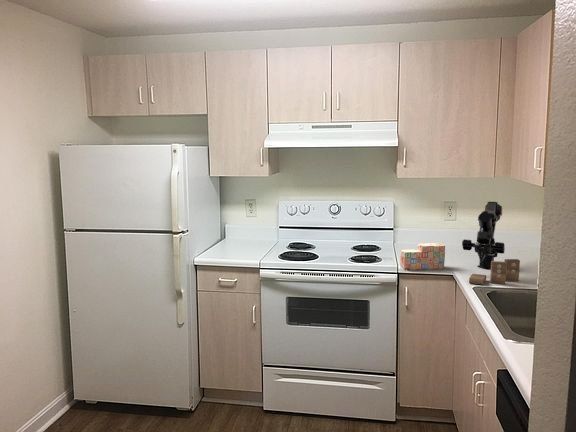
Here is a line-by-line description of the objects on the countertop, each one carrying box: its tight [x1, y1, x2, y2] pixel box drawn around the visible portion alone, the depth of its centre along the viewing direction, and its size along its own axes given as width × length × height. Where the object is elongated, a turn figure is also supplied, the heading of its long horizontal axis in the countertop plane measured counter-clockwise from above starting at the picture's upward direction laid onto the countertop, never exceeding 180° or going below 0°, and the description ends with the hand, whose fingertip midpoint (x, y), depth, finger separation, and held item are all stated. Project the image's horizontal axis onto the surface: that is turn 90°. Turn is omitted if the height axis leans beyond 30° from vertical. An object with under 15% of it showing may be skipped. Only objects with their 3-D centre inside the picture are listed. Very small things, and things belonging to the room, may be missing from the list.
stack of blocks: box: [399, 242, 446, 271], centre depth 248 cm, size 21×6×12 cm, turn 96°
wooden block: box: [468, 273, 487, 286], centre depth 222 cm, size 3×6×10 cm
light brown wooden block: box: [489, 260, 506, 285], centre depth 219 cm, size 3×6×10 cm, turn 77°
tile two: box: [503, 258, 521, 282], centre depth 223 cm, size 3×6×10 cm, turn 93°
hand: (480, 261), depth 227 cm, fingers closed
